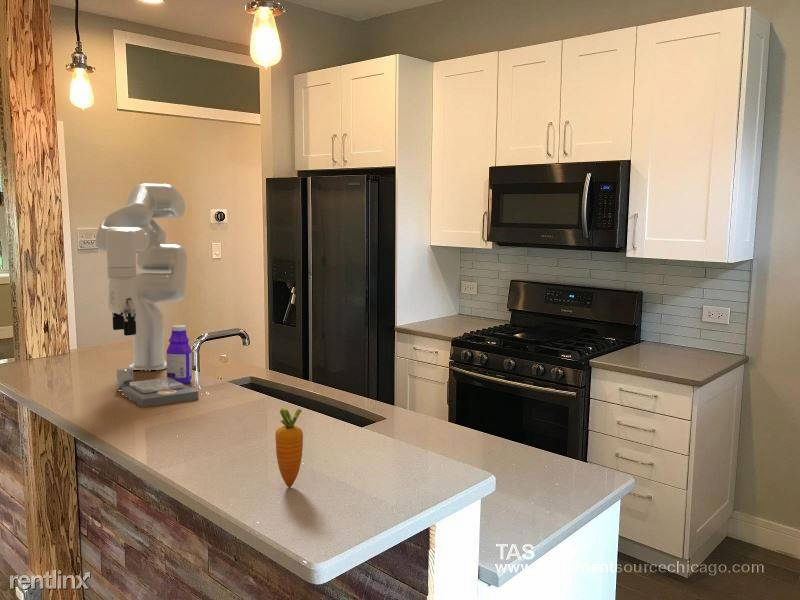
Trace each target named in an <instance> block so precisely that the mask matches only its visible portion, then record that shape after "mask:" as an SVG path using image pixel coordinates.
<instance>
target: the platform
mask: <svg viewBox="0 0 800 600" xmlns="http://www.w3.org/2000/svg"><path fill="white" fill-rule="evenodd" d="M130 386H131V387H133V388H135V389H136V390H138V391H140V392H142V393H150V392H157V391H161V390H171V389H178V388H183V384H182V383H180V382H177V381H175V380H173V379H171V378H169V377H167V376H166V377H158V378H153V379H152V378H151V379H145V380H138V381H133V382H130Z"/></svg>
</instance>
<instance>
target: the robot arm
mask: <svg viewBox="0 0 800 600" xmlns="http://www.w3.org/2000/svg"><path fill="white" fill-rule="evenodd" d="M185 202H186V201H185V199H184V197H183V195H182V194H181V192H180V191H179V190H178V189H177V188H176V187H175V186H174V185H171V184H167V183H140V184H137V185H134V187H133V188H132V189H131V191H130V194H129V196H128V198H127V200H126V202H125V206H122V207H119V209H116V210H115V211H113V212H111V213H109V214H107V215H106V216H104V217H103V219H102V220H101V222H100V224H99V226H98V228H97V231H96V234H95V235H96V236H95V244H96V246H97V247H96V248H97V249H98V250H99V251H101V252H102V253H106V263H107V264H106V265H107V267H106V268H107V279H108V280H109V281H108V282H109V283H108V309H109V311H111V312H112V315H111V316H112V329H113V330H114V331H119V330H123V335H124V336H132V339H133V340H132V341H133V343H132V344H133V363H130V364H129V365H128V368H132V369H133V370H141V371H140V372H143V371H142V370H145V371H144V372H152V371H151V370H156V371H161V370H165V369H166V370H167V361H165V338H164V337H165V336H164V334H165V331H164V330H165V329H164V327H165V326H164V315H163V311H162V310H161V308H159V306H158V305H157V304H156V303H178V302H180V301H182V300H183V298H184V297H185V293H186V283H187V282H186V279H187V268H188V257H187V251H186V249H185V248H184V247H183V246H182V245H180V244H166V241H167V240H166V239H167V234H166V231H165V230H164V228H163V227H162V226H161V225H160V223H158V222H157V220H155V219H180V218H182V217H183V216H184V214H185V210H186V203H185ZM137 268H138V269H139V270H140V271H141V272H142V273H137ZM113 330H112V331H113ZM147 370H148V371H147Z"/></svg>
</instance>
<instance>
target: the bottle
mask: <svg viewBox="0 0 800 600" xmlns="http://www.w3.org/2000/svg"><path fill="white" fill-rule="evenodd" d="M170 334H171V335H170V338H169V339H168V342H169V344H168V347H167V348H166V362H167V368H166V377H169V378H171V379H173V380H176V381H178V382H180V383H182V384H184V385H186V384H188V383H190V382H191V380H192V377H193V359H192V358H193V353H192V348H191V346H190V344H189V342H190V339H189V337H188V335H187V325H183V324H175V325H171V333H170Z"/></svg>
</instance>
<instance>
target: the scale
mask: <svg viewBox="0 0 800 600" xmlns="http://www.w3.org/2000/svg"><path fill="white" fill-rule="evenodd" d="M175 381H176V380H175ZM177 382H178V381H177ZM122 394H124V395H125V396H127V397H128V398H130V399H131V401H132V400H133V401H134V402H133V401H132V402H133V403H135V402H136V403H137V405H138V404H139V405H138V406H139V407H141V408H142V409H144V408H149V407H150V408H151V407H155V406H161V405H162V406H163V405H169V404H175V403H181V402H182V403H183V402H187V401H188V402H189V401H193V400H194V401H196V400H198V399H199V390H196V389H195V388H192V387H190V386H188V385H186V384H183V388H178V389H171V390H161V391H157V392H150V393H142V392H140V391H138V390H136V389H135V388H133V387H131V386H126V387H122V392H121V395H122ZM125 396H124V397H125ZM127 397H126V398H127ZM128 398H127V399H128ZM130 399H129V400H130ZM136 403H135V404H136Z"/></svg>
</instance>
